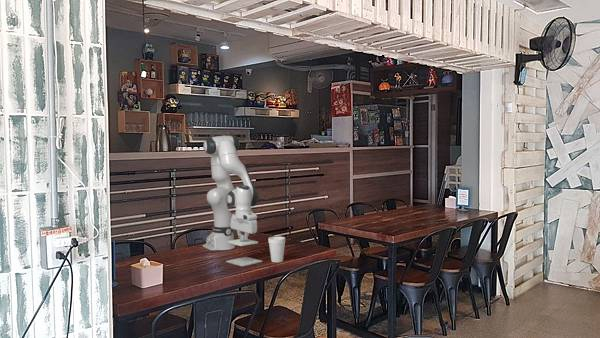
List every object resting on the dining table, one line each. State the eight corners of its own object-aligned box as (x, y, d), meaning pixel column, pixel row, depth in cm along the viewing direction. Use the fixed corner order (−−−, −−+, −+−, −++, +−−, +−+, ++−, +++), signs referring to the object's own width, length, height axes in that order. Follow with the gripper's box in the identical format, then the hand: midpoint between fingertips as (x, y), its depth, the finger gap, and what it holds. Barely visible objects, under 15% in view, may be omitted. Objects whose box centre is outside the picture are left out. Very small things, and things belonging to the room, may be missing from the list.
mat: (226, 261, 277) (226, 260, 277) (245, 257, 286) (245, 256, 286) (242, 266, 266) (242, 265, 266) (262, 261, 276) (262, 260, 276)
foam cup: (283, 263, 272) (282, 240, 271) (266, 262, 274) (266, 239, 273) (287, 259, 281) (286, 236, 280) (271, 258, 283) (271, 236, 282)
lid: (227, 242, 276) (228, 234, 276) (244, 239, 284) (245, 232, 284) (241, 246, 267) (241, 238, 267) (258, 243, 276) (258, 235, 276)
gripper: (227, 212, 280) (227, 236, 281) (250, 217, 265) (249, 242, 266) (236, 211, 284) (236, 235, 285) (259, 216, 270) (258, 241, 271)
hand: (243, 239), depth 276 cm, fingers closed on lid, 3 cm apart
